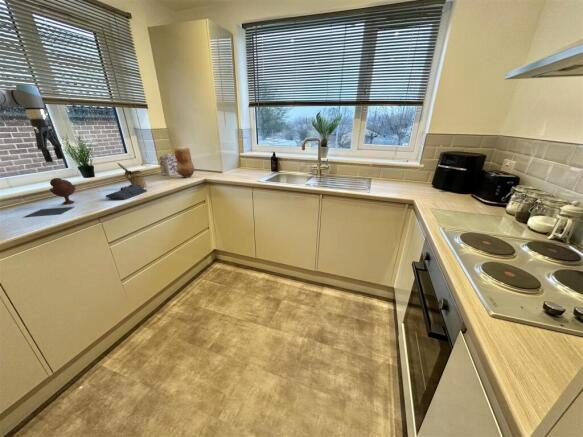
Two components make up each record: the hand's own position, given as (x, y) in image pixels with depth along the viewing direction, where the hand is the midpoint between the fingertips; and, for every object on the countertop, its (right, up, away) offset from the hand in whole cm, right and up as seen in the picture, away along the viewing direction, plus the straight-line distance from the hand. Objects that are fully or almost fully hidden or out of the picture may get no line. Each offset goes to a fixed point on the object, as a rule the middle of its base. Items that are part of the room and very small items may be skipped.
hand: (55, 160), depth 132 cm
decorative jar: (+25, +7, +79) cm, 83 cm away
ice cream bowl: (+1, -23, +7) cm, 24 cm away
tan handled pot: (+19, -10, +39) cm, 44 cm away
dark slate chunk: (+25, -17, +21) cm, 37 cm away
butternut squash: (+44, +2, +68) cm, 80 cm away
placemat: (+4, -29, -8) cm, 30 cm away
